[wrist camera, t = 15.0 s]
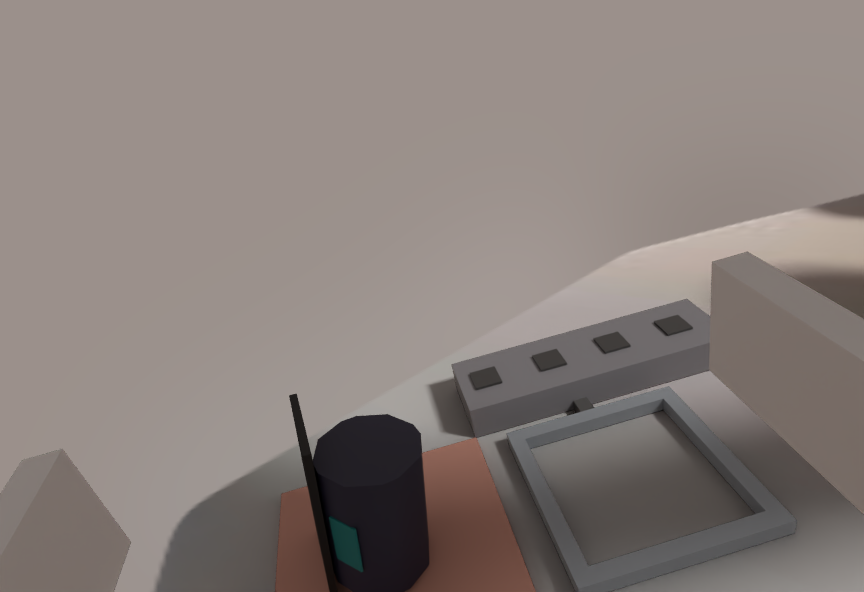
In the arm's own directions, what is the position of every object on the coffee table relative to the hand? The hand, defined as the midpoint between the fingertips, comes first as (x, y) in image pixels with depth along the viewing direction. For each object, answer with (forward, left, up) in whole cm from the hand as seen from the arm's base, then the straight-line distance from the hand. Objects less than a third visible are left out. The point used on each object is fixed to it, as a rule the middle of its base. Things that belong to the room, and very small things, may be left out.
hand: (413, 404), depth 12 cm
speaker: (+4, -14, -21) cm, 26 cm away
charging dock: (-13, -18, -21) cm, 31 cm away
